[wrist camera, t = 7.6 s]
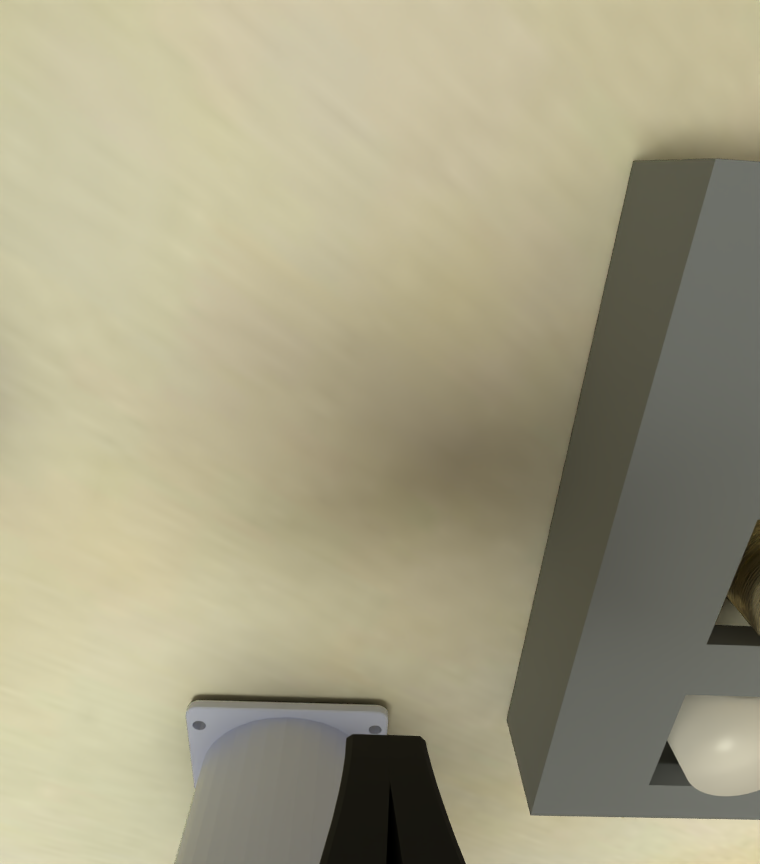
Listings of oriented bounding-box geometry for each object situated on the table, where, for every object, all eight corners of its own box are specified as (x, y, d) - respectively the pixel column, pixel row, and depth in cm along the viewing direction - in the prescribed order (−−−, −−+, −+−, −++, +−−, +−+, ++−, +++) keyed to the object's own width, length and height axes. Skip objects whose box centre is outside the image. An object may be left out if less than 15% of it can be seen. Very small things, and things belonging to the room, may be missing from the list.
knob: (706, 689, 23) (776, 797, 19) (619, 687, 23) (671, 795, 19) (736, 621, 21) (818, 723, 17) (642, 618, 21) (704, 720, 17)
